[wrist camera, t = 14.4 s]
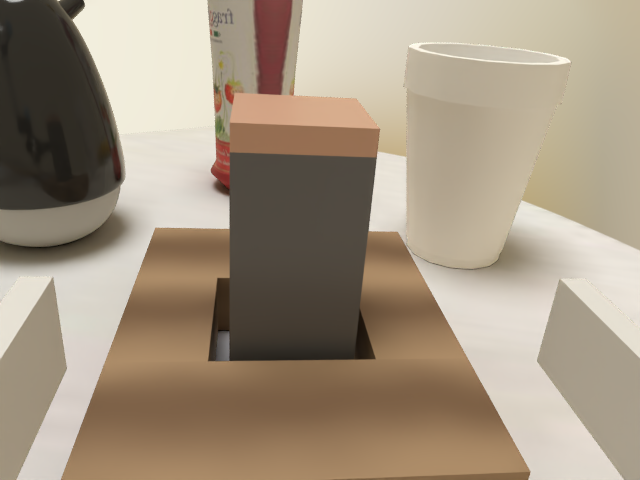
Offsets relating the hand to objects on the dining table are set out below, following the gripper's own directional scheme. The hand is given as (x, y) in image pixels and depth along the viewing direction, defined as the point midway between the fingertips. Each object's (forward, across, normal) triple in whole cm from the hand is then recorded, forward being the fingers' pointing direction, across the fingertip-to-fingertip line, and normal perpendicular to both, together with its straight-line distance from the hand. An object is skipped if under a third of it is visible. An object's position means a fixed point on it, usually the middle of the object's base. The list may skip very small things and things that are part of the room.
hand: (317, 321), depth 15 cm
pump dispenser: (+24, -15, -8) cm, 29 cm away
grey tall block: (+9, 0, -8) cm, 12 cm away
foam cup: (+22, +12, -8) cm, 26 cm away
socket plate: (+9, 0, -8) cm, 12 cm away
